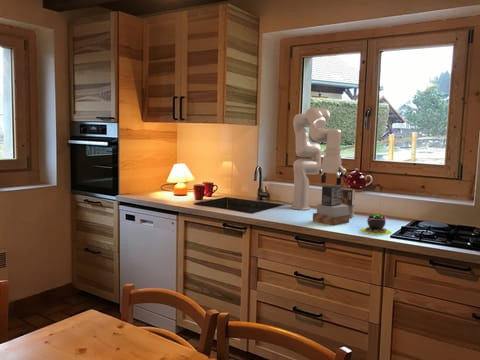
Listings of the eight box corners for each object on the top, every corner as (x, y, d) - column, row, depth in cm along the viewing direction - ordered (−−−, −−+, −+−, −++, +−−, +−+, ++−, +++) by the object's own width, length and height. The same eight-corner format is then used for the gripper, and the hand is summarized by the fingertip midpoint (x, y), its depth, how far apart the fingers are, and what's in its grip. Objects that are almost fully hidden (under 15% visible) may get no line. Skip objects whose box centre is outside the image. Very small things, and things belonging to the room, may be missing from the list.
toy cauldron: (368, 227, 232) (369, 206, 231) (396, 231, 222) (397, 210, 221) (355, 231, 220) (356, 209, 219) (384, 236, 211) (385, 213, 210)
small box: (330, 203, 247) (331, 184, 246) (341, 204, 242) (342, 185, 241) (320, 205, 239) (321, 185, 238) (331, 206, 235) (332, 187, 234)
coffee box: (354, 216, 261) (355, 189, 259) (351, 218, 255) (353, 190, 253) (338, 214, 265) (340, 188, 263) (335, 216, 259) (337, 189, 258)
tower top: (316, 213, 242) (317, 204, 241) (330, 211, 249) (331, 202, 249) (334, 216, 232) (334, 207, 232) (348, 214, 240) (348, 205, 240)
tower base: (312, 222, 242) (313, 213, 241) (327, 219, 251) (328, 210, 251) (334, 226, 232) (334, 217, 231) (349, 223, 241) (349, 214, 241)
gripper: (315, 151, 241) (313, 182, 244) (342, 153, 229) (340, 186, 231) (323, 151, 247) (321, 181, 249) (350, 153, 234) (348, 185, 236)
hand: (330, 183), depth 240 cm, fingers open, 9 cm apart
